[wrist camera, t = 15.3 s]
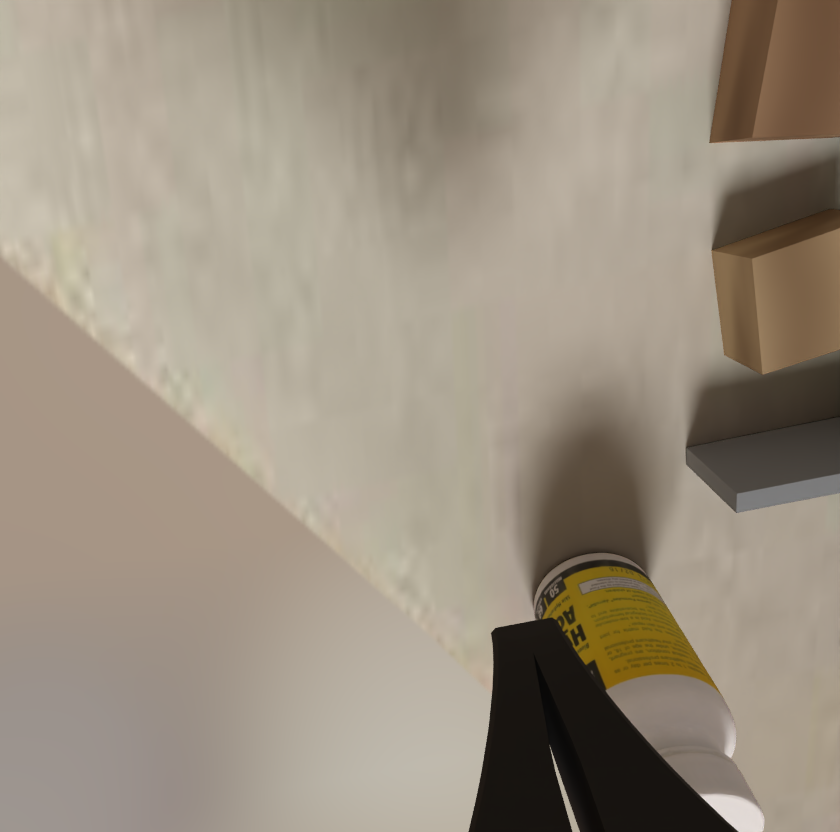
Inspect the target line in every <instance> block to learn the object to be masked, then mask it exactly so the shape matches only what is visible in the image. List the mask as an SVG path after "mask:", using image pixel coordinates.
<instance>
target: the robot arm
mask: <svg viewBox="0 0 840 832" xmlns="http://www.w3.org/2000/svg"><path fill="white" fill-rule="evenodd" d="M491 635H492V642H493V661H494V664H493V690H492V700H491V711H490V721H489V729H488V736H487V742H486V748H485V754H484V761H483V767H482V773H481V778H480V783H479V788H478V793H477V798H476V802H475V806H474V811H473V815H472V819H471V824H470V828H469V832H572V829H571V826H570V822H569V818H568V815H567V811H566V808H565V804H564V801H563V797H562V794H561V790H560V786H559V783H558V780H557V776H556V772H555V769H554V764H553V759H552V754H551V750H552V753H553V756H554V758H555V761H556V764H557V767H558V770H559V773H560V775H561V778H562V782H563V785H564V787H565V790H566V793H567V796H568V799H569V802H570V804H571V807H572V810H573V812H574V816H575V819H576V822H577V825H578V827H579V830H580V832H738V831H737V830H736V829H735V828H734V827H733V826H732V825H730V824H729V823H728V822H727V821H726V820H725V819H724V818H723V817H722V816H721V815H720V814H719V813H718V812H717V811H716V810H715V809H714V808H712V807H711V806H710V805H709V804H708V803H707V802H706V801H705V800H704V799H703V798H702V797H701V796H700V795H699V794H698V793H697V792H696V791H695V790H694V789H693V788H692V787H691V786H690V785H689V784H688V783H687V782H686V781H685V780H684V779H683V778H682V777H681V776H680V775H679V774H678V773H677V772H676V771H675V770H674V769H673V768H672V767H671V766H670V765H669V764H668V763H667V762H666V761H665V759H664V758H663V757H662V756H661V755H660V754H659V753H658V752H657V751H656V750H655V749H654V748H653V747H652V745H651V744H650V743H649V742H648V741H647V740H646V739H645V738H644V736H643V735H642V734H641V733H640V732H639V731H638V730H637V728H636V727H635V726H634V725H633V724H632V723H631V722H630V720H629V719H628V718H627V717H626V716H625V715H624V713H623V712H622V711H621V710H620V709H619V707H618V706H617V705H616V704H615V702H614V701H613V700H612V699H611V697H610V696H609V695H608V694H607V692H606V691H605V690H604V689H603V687H602V686H601V685H600V684H599V682H598V681H597V680H596V678H595V677H594V676H593V674H592V673H591V672H590V670H589V669H588V667H587V666H586V665H585V663H584V662H583V660H582V659H581V658H580V656H579V655H578V653H577V652H576V650H575V649H574V647H573V646H572V644H571V643H570V641H569V640H568V638H567V636H566V635H565V633H564V631H563V630H562V628H561V626H560V624H559V623H558V621H557V620H555V619H554V618H552V617H551V618H546V619H541V620H535V621H530V622H525V623H519V624H514V625H509V626H504V627H498V628H495V629H494V630H493V631H492V633H491ZM549 744H550V745H549ZM550 747H551V750H550Z"/></svg>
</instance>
